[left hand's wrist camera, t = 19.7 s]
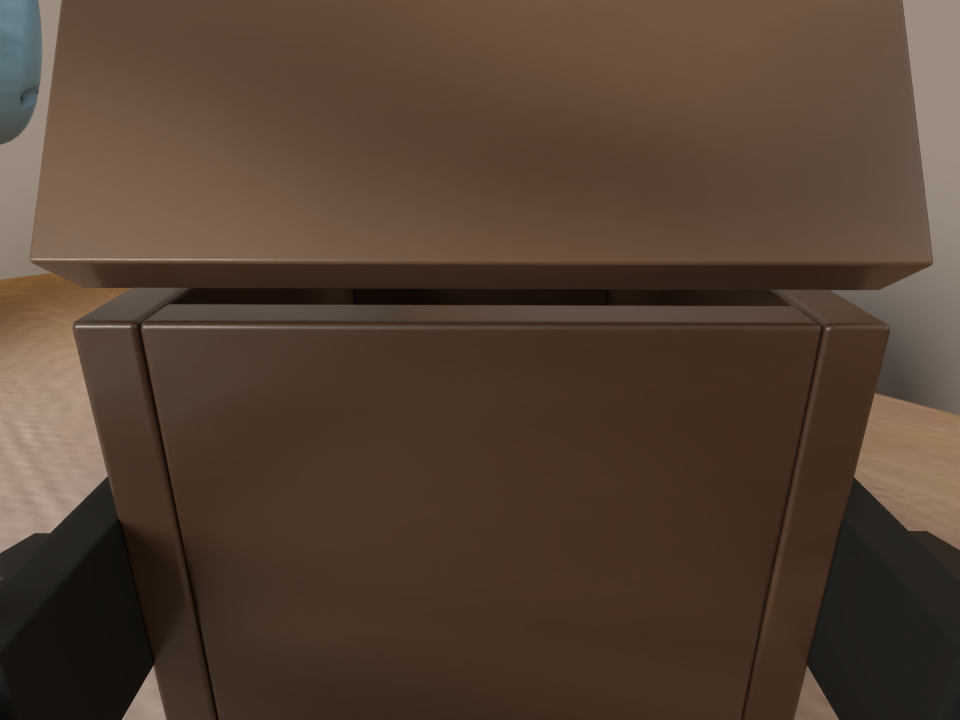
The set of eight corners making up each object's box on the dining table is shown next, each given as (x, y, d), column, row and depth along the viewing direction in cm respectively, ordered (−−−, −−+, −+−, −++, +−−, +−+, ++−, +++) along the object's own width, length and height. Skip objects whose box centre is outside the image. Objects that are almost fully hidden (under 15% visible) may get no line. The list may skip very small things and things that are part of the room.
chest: (347, 452, 26) (324, 174, 22) (613, 453, 26) (637, 175, 22) (198, 862, 12) (66, 321, 8) (759, 864, 12) (894, 325, 8)
